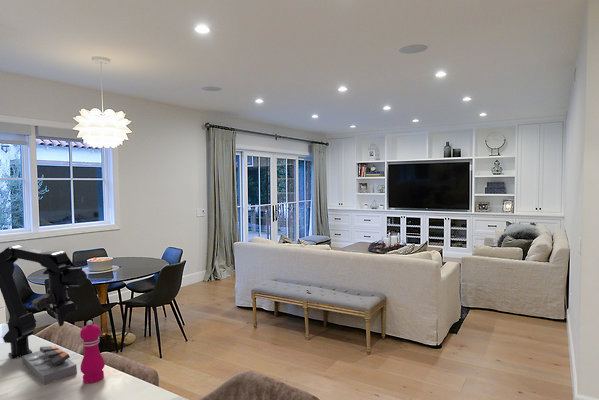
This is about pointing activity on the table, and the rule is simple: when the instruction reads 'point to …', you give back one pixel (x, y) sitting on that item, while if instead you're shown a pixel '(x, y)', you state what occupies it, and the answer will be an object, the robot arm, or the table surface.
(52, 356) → the rocker middle
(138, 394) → the table surface
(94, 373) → the pepper mill
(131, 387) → the table surface
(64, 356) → the rocker outer
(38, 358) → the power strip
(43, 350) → the rocker inner
